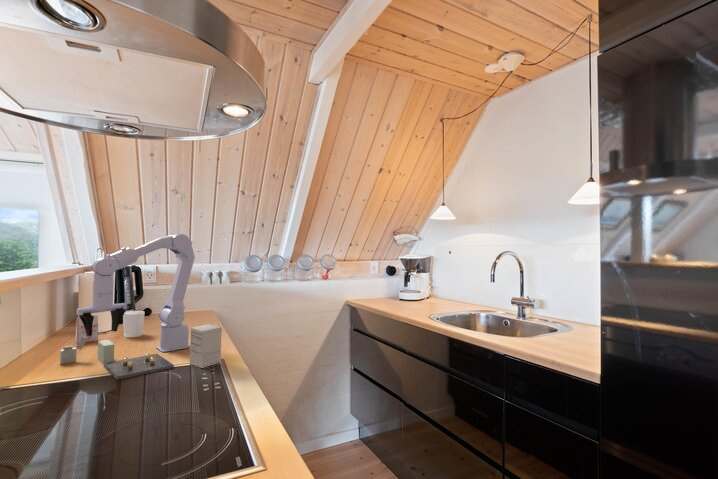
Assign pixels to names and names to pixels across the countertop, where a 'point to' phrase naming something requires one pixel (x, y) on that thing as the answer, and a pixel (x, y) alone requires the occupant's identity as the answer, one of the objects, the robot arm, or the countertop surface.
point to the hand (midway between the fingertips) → (102, 333)
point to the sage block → (105, 351)
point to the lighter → (71, 352)
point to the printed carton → (82, 332)
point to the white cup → (133, 323)
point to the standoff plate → (137, 366)
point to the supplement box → (205, 345)
